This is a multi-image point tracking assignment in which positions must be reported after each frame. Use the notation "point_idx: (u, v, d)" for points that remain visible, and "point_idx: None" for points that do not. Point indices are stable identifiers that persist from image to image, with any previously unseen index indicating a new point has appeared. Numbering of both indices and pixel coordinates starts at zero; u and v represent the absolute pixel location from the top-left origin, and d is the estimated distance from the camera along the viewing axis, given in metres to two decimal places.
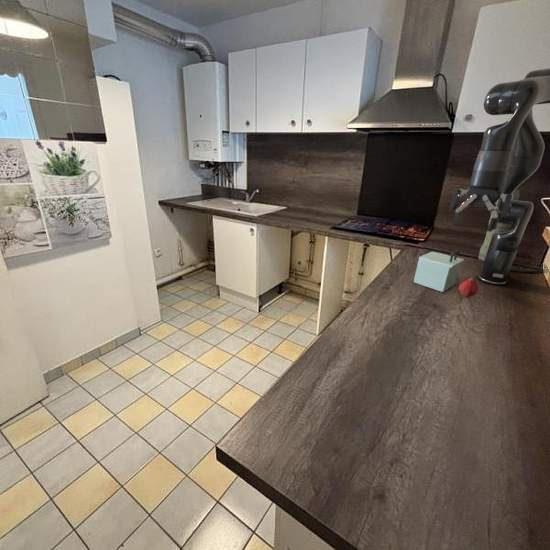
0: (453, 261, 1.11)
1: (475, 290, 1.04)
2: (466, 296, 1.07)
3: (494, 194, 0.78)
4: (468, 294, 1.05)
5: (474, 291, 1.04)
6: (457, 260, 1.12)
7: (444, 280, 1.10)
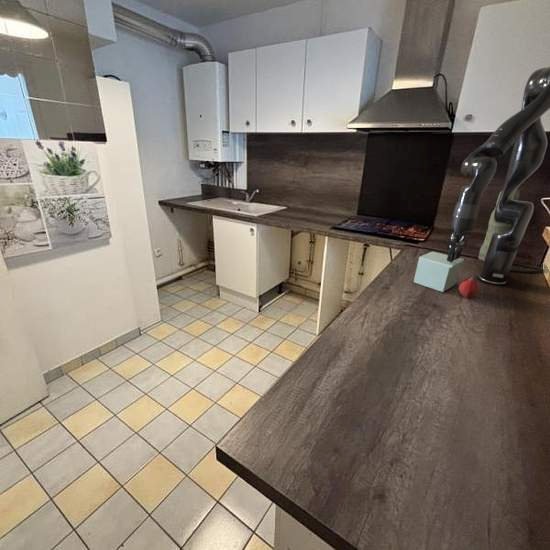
0: (453, 261, 1.11)
1: (475, 290, 1.04)
2: (466, 296, 1.07)
3: None
4: (468, 294, 1.05)
5: (474, 291, 1.04)
6: (457, 260, 1.12)
7: (444, 280, 1.10)
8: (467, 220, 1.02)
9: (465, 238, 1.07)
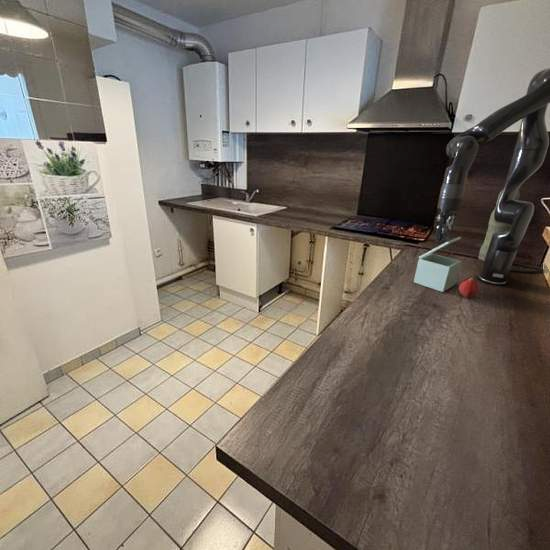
0: None
1: (475, 290, 1.04)
2: (466, 296, 1.07)
3: None
4: (468, 294, 1.05)
5: (474, 291, 1.04)
6: None
7: (444, 280, 1.10)
8: (453, 200, 1.04)
9: (452, 219, 1.09)
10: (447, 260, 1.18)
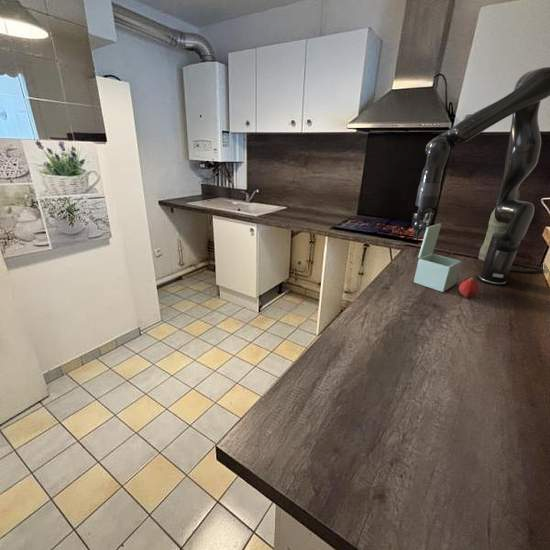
0: None
1: (475, 290, 1.04)
2: (466, 296, 1.07)
3: None
4: (468, 294, 1.05)
5: (474, 291, 1.04)
6: None
7: (444, 280, 1.10)
8: (429, 198, 1.10)
9: (429, 215, 1.15)
10: (447, 260, 1.18)
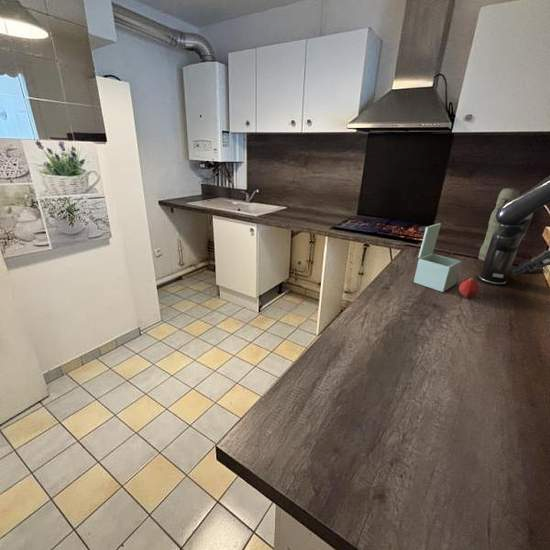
0: None
1: (475, 290, 1.04)
2: (466, 296, 1.07)
3: (548, 254, 0.85)
4: (468, 294, 1.05)
5: (474, 291, 1.04)
6: None
7: (444, 280, 1.10)
8: None
9: None
10: (447, 260, 1.18)
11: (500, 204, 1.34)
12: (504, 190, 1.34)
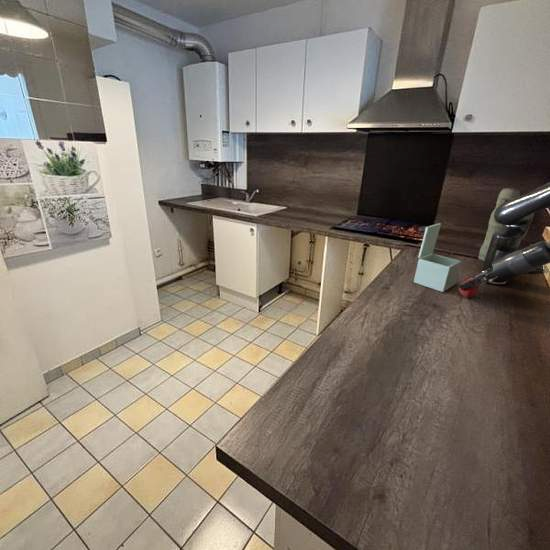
0: None
1: (475, 290, 1.04)
2: (466, 296, 1.07)
3: (488, 272, 0.98)
4: (468, 294, 1.05)
5: (474, 291, 1.04)
6: None
7: (444, 280, 1.10)
8: (511, 273, 0.93)
9: None
10: (447, 260, 1.18)
11: (500, 204, 1.34)
12: (504, 190, 1.34)
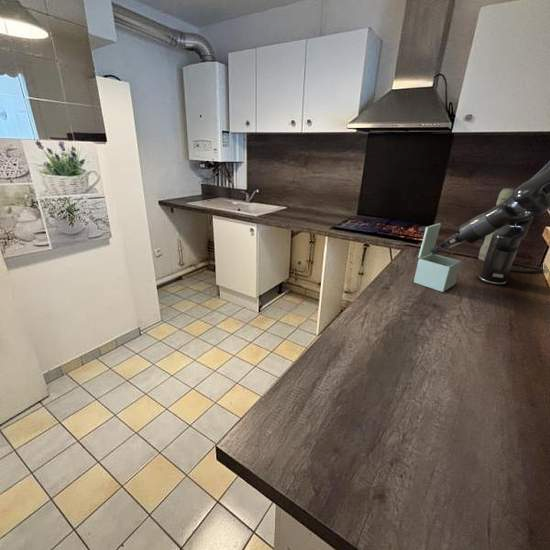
0: None
1: None
2: None
3: (456, 235, 1.05)
4: None
5: None
6: None
7: (444, 280, 1.10)
8: (475, 235, 1.00)
9: None
10: (447, 260, 1.18)
11: None
12: (504, 190, 1.34)
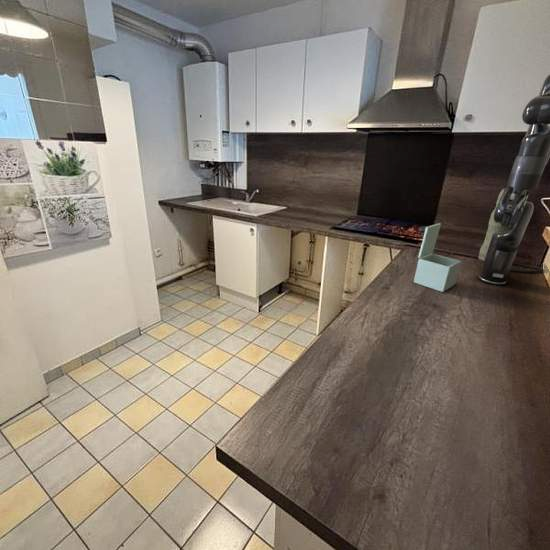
0: None
1: None
2: None
3: None
4: None
5: None
6: None
7: (444, 280, 1.10)
8: (531, 176, 0.85)
9: (525, 200, 0.91)
10: (447, 260, 1.18)
11: None
12: None
